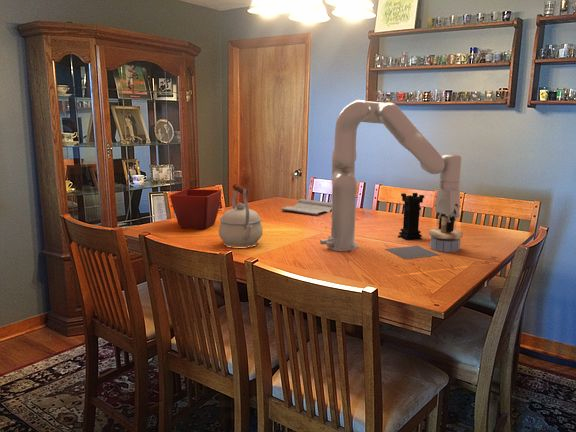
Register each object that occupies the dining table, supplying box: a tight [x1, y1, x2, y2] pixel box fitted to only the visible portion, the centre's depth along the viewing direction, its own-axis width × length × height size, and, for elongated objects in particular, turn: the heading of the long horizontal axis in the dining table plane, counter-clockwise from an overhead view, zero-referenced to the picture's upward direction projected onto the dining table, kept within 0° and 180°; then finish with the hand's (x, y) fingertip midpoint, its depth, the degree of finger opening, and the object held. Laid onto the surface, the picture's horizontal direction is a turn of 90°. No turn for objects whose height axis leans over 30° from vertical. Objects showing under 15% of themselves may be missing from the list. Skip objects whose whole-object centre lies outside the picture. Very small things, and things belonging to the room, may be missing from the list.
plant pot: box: [169, 188, 222, 230], centre depth 240 cm, size 19×19×17 cm
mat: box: [281, 198, 332, 217], centre depth 281 cm, size 23×24×5 cm
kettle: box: [218, 183, 264, 247], centre depth 205 cm, size 25×18×25 cm
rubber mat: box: [384, 245, 440, 260], centre depth 197 cm, size 16×15×1 cm
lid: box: [428, 215, 464, 239], centre depth 200 cm, size 13×13×8 cm
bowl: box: [429, 236, 461, 253], centre depth 202 cm, size 11×11×5 cm
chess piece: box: [397, 192, 425, 241], centre depth 217 cm, size 8×8×20 cm
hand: (445, 229), depth 200 cm, fingers closed on lid, 3 cm apart
